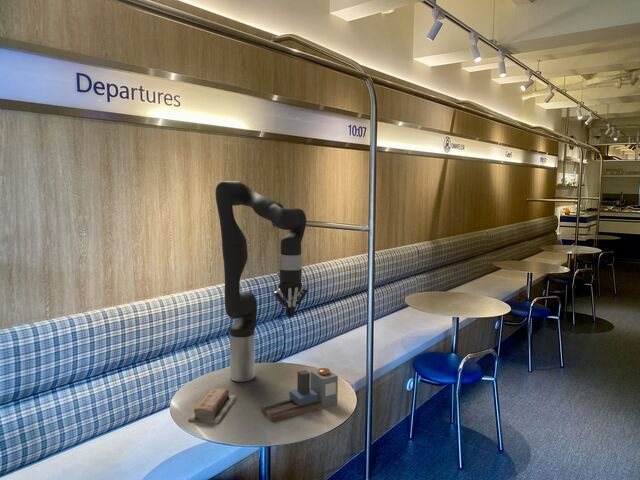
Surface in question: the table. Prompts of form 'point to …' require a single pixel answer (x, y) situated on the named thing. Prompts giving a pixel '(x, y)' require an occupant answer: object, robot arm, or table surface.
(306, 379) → the carriage
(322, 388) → the end cabinet
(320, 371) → the orange push button
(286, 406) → the rail bed
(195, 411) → the packaged product
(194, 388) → the table surface
